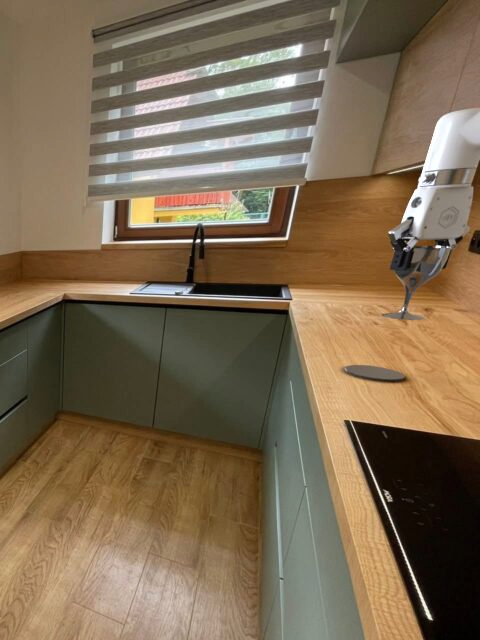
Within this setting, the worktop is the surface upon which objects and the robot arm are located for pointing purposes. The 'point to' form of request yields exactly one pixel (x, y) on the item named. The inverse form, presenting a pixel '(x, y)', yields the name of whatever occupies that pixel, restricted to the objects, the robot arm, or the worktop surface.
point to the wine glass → (419, 274)
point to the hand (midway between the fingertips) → (417, 269)
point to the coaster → (374, 373)
